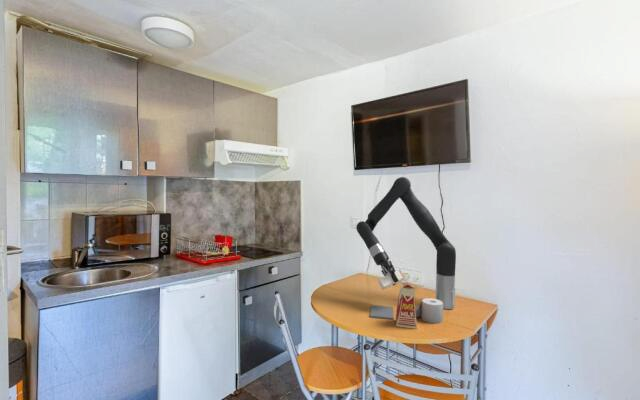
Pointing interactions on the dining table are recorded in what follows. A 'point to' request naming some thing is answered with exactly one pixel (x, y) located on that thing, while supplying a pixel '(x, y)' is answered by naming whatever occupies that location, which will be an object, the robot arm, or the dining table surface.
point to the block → (390, 279)
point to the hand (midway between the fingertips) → (395, 283)
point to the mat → (382, 312)
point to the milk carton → (406, 307)
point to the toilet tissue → (430, 310)
